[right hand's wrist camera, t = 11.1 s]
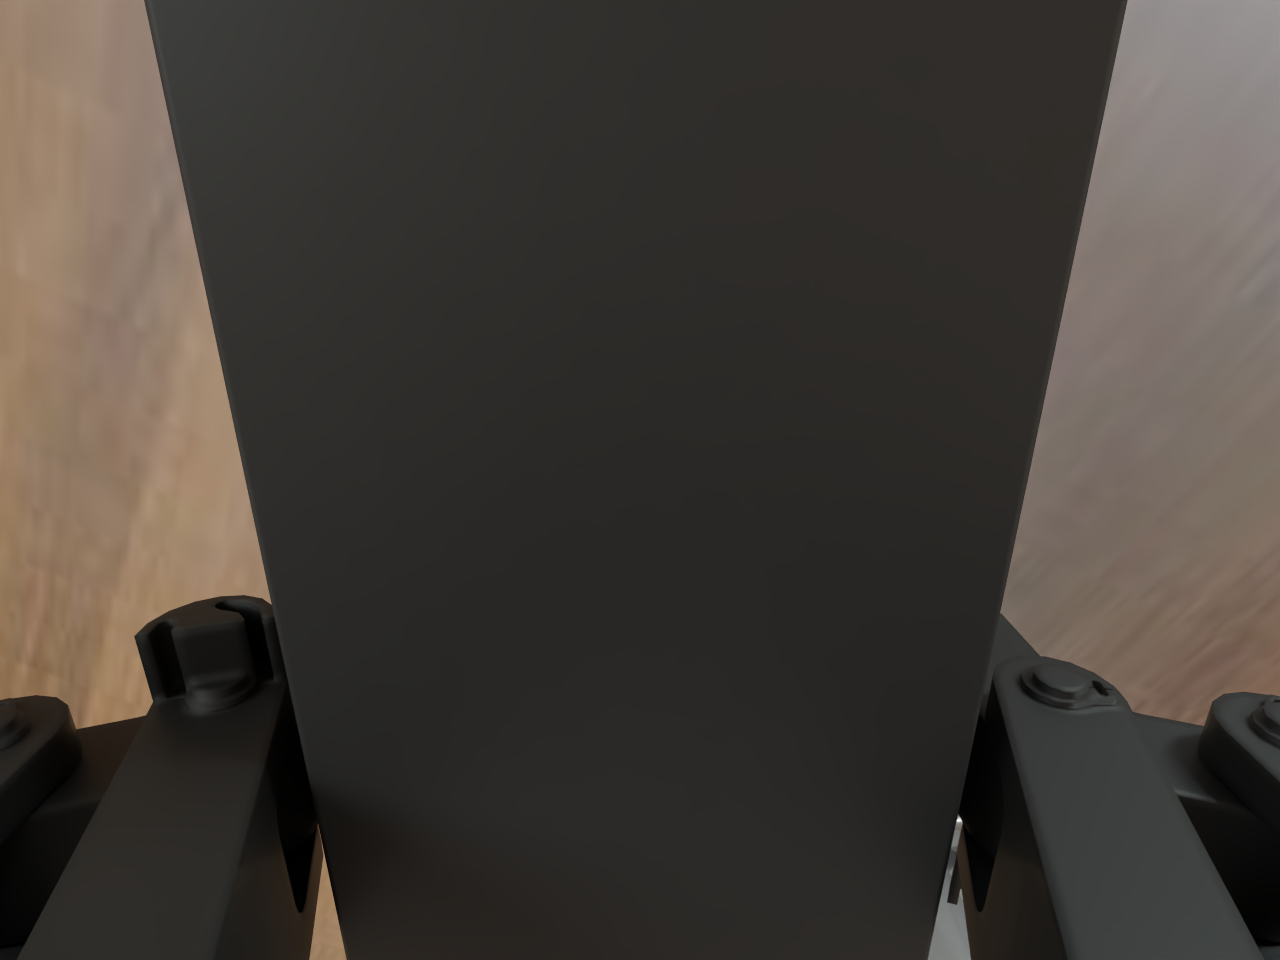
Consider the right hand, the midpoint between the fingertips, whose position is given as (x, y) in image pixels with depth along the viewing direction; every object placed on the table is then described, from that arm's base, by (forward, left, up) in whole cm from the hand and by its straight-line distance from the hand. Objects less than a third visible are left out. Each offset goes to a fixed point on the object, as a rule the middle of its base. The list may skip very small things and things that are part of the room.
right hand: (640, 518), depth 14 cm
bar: (+9, +5, -1) cm, 10 cm away
